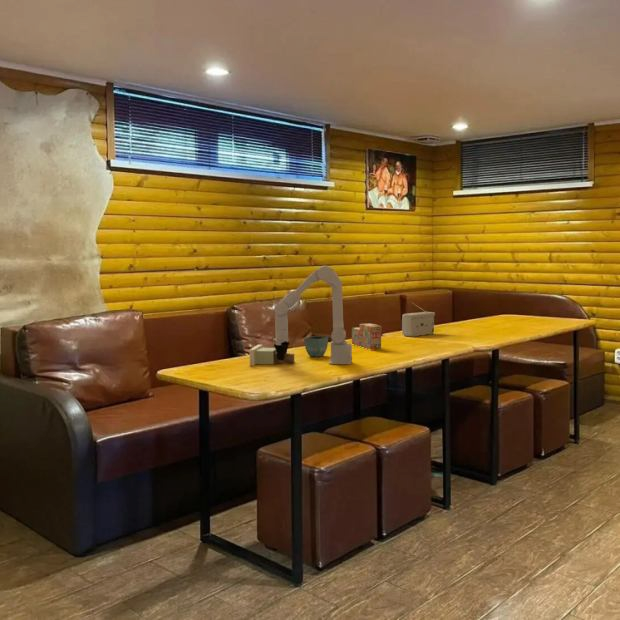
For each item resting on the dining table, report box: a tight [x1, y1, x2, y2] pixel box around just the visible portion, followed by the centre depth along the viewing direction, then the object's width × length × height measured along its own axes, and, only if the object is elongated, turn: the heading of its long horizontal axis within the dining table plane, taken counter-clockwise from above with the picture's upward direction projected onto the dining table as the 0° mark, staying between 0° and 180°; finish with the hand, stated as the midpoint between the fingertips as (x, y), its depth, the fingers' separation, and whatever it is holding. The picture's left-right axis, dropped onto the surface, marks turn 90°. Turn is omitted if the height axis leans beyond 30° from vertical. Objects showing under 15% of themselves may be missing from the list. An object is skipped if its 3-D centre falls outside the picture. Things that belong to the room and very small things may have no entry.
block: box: [256, 347, 277, 365], centre depth 302 cm, size 8×10×6 cm
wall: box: [249, 344, 263, 366], centre depth 303 cm, size 2×16×7 cm, turn 170°
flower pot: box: [303, 335, 329, 358], centre depth 318 cm, size 9×9×9 cm
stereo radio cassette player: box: [401, 302, 436, 338], centre depth 390 cm, size 21×8×20 cm, turn 129°
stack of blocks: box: [351, 323, 382, 350], centre depth 346 cm, size 21×6×12 cm, turn 23°
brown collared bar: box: [273, 352, 295, 365], centre depth 301 cm, size 13×7×5 cm, turn 81°
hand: (282, 358), depth 301 cm, fingers closed on brown collared bar, 4 cm apart
